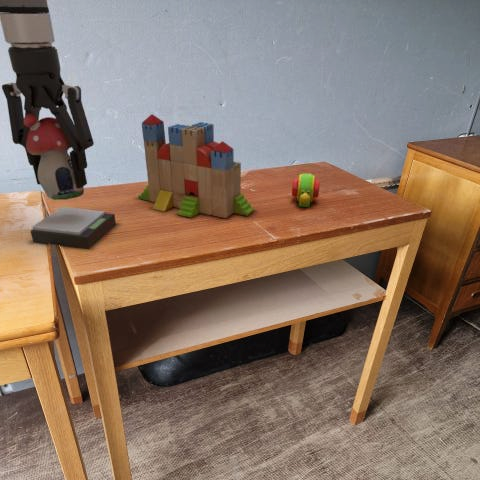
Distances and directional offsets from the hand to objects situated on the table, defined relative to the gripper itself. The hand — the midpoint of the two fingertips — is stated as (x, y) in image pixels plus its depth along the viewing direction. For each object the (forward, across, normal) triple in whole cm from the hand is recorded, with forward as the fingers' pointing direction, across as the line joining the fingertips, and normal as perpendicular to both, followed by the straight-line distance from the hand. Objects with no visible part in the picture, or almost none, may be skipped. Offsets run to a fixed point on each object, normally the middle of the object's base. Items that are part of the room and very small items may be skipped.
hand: (62, 183), depth 85 cm
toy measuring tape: (+10, -45, -34) cm, 57 cm away
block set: (+10, -20, -21) cm, 31 cm away
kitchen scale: (+10, -1, 0) cm, 10 cm away
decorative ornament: (+2, 0, 0) cm, 2 cm away
